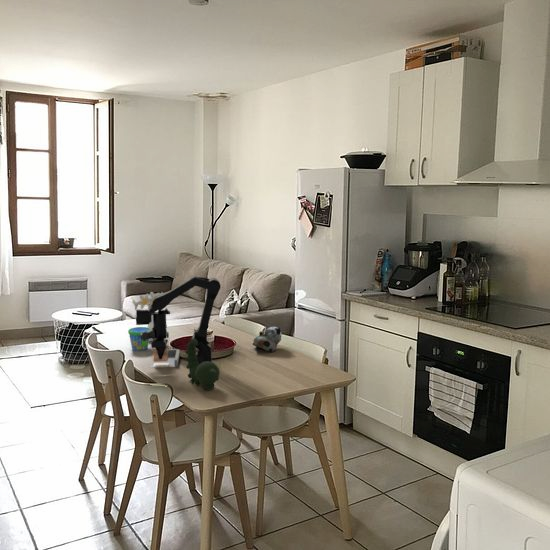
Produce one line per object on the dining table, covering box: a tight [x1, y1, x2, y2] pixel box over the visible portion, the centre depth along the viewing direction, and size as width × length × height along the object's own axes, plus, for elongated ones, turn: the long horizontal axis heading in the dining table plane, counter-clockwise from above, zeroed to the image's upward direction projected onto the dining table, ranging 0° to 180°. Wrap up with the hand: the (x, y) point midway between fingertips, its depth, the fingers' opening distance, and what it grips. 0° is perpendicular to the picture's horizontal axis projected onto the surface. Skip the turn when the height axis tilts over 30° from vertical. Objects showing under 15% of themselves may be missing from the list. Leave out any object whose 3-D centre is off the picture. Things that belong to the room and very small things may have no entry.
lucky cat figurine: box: [252, 326, 283, 353], centre depth 303 cm, size 15×12×14 cm
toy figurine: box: [184, 338, 220, 390], centre depth 251 cm, size 9×19×25 cm
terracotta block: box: [152, 345, 169, 362], centre depth 277 cm, size 4×6×6 cm, turn 96°
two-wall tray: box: [149, 348, 180, 369], centre depth 283 cm, size 12×18×3 cm, turn 6°
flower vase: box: [131, 291, 164, 342], centre depth 319 cm, size 13×18×25 cm
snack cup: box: [127, 326, 150, 352], centre depth 303 cm, size 16×10×10 cm
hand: (160, 357), depth 277 cm, fingers closed on terracotta block, 4 cm apart
